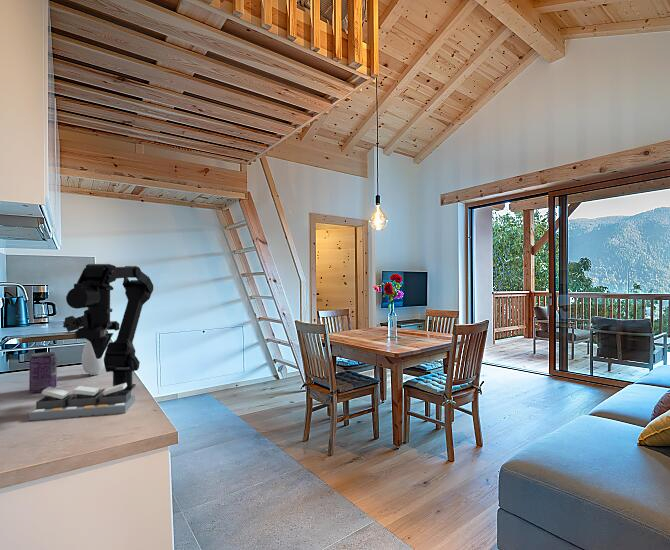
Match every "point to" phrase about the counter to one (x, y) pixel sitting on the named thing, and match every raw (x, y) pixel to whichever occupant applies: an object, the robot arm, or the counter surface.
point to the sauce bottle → (91, 360)
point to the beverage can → (42, 371)
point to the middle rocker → (86, 390)
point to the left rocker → (55, 392)
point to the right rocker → (115, 388)
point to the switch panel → (82, 405)
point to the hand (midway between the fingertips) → (98, 358)
